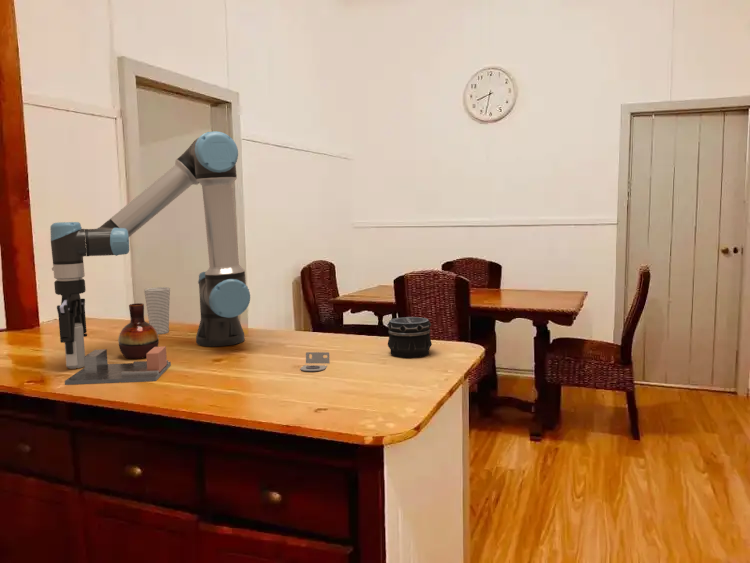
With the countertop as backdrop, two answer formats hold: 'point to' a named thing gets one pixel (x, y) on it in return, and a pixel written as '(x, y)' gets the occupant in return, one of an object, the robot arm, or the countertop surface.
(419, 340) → the container
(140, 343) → the vase
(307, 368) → the bracket
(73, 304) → the robot arm
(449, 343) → the countertop surface
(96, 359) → the grey vise base
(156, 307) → the cup
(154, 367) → the block
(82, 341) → the beverage can
